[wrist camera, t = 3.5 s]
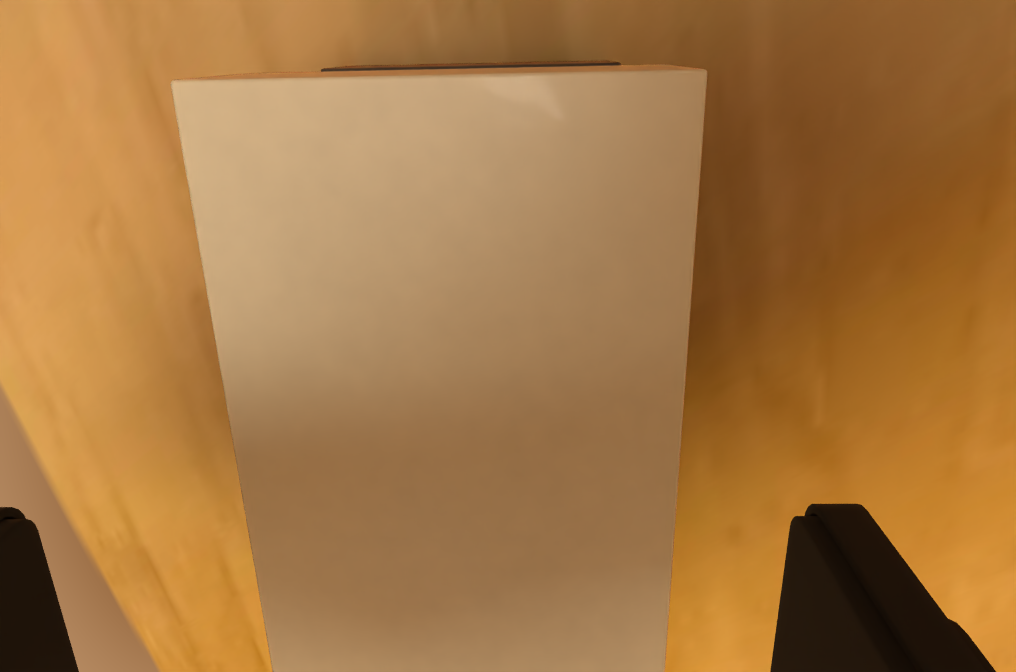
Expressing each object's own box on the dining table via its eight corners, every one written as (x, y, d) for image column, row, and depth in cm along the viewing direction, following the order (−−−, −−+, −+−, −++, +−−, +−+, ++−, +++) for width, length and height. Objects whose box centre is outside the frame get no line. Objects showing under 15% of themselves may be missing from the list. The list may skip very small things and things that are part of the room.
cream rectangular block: (250, 73, 13) (167, 79, 10) (668, 64, 12) (708, 68, 9) (326, 635, 17) (285, 751, 14) (638, 637, 17) (658, 757, 14)
